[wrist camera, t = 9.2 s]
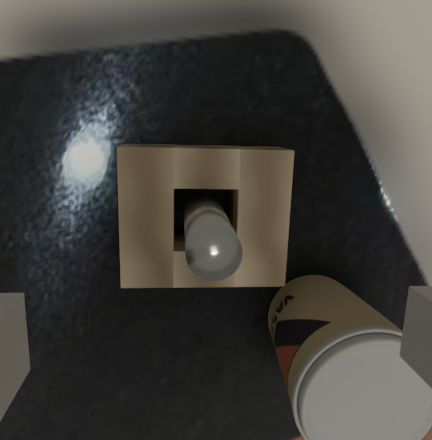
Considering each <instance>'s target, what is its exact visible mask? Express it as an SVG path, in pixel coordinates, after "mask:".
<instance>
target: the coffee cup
mask: <svg viewBox="0 0 432 440" xmlns="http://www.w3.org/2000/svg"><path fill="white" fill-rule="evenodd" d="M268 325H269V330H270V334H271V338H272V341H273V344H274V348H275V351H276V355H277V358H278V361H279V365H280V368H281V371H282V375H283V378H284V381H285V384H286V387H287V391H288V394H289V397H290V400H291V403H292V411H293V416H294V419H295V422H296V425H297V427H298V429H299V431H300V432H301V434H302V436H303V437H304V438H305V440H421V439H422V438H423V437H424V436H425V435H426V433H427V432H428V431H429V429H430V428H431V426H432V388H431V387H430V386H429V385H428V384H427V383H426V382H425V381H424V380H423V379H422V378H421V377H420V376H419V375H418V374H417V373H416V372H415V371H414V370H413V369H412V368H411V367H410V366H409V365H408V364H407V363H406V362H405V361H404V360H403V359H402V358H401V357H400V356H399V355H400V348H401V341H402V334H403V331H401V330H400V329H399V328H398V327H396V326H395V325H394V324H393V323H391V322H390V321H389V320H388V319H386V318H385V317H384V316H382V315H381V314H380V313H379V312H377V311H376V310H375V309H373V308H372V307H371V306H370V305H368V304H367V303H366V302H364V301H363V300H362V299H360V298H359V297H358V296H356V295H355V294H354V293H353V292H351V291H350V290H349V289H347V288H346V287H345V286H343V285H342V284H340V283H339V282H337V281H336V280H334V279H332V278H329V277H327V276H322V275H305V276H301V277H298V278H296V279H293V280H291V281H290V282H288V283H286V284H285V287H282V288H281V289H280V290H279V291H278V292H277V293H276V295H275V296H274V298H273V300H272V302H271V305H270V308H269V312H268Z"/></svg>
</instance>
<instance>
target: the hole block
mask: <svg viewBox="0 0 432 440" xmlns="http://www.w3.org/2000/svg"><path fill="white" fill-rule="evenodd" d="M293 163H294V150H290V149H286V148H281V147H261V146H218V145H174V144H131V143H125V144H122V145H120V146H117V175H118V210H119V245H120V280H121V288H184V287H285V277H286V262H287V248H288V234H289V220H290V205H291V191H292V177H293ZM174 189H230V215H229V221H230V223H231V225H232V227H233V229H234V231H235V233H236V235H237V237H238V238H239V240H240V242H241V245H242V250H243V256H242V261H241V263H240V265H239V267H238V269H237V270H236V271H235V272H234V273H233V274H232V275H231V276H229V277H227V278H225V279H223V280H219V281H208V280H204V279H202V278H199V277H198V276H196V275H195V274H194V273H193V272H192V271H191V270H190V268H189V266H188V264H187V261H186V254H185V235H174Z"/></svg>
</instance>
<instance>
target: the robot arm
mask: <svg viewBox="0 0 432 440" xmlns="http://www.w3.org/2000/svg"><path fill="white" fill-rule="evenodd" d="M399 356H400V357H401V358H402V359H403V360H404V361H405V362H406V363H407V364H408V365H409V366H410V367H411V368H412V369H413V370H414V371H415V372H416V373H417V374H418V375H419V376H420V377H421V378H422V379H423V380H424V381H425V382H426V383H427V384H428V385H429V386H430V387H431V388H432V287H430V286H409V291H408V298H407V305H406V312H405V319H404V327H403V334H402V341H401V348H400V355H399ZM29 371H30V359H29V347H28V336H27V324H26V312H25V300H24V293H0V421H1V419H2V418H3V416H4V414H5V412H6V411H7V409H8V407H9V405H10V404H11V402H12V400H13V399H14V397H15V395H16V393H17V392H18V390H19V388H20V386H21V385H22V383H23V381H24V380H25V378H26V376H27V374H28V373H29Z"/></svg>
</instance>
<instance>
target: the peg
mask: <svg viewBox="0 0 432 440" xmlns="http://www.w3.org/2000/svg"><path fill="white" fill-rule="evenodd" d="M183 209H184V231H185V254H186V261H187V264H188V266H189V268H190V270H191V271H192V272H193V273H194V274H195V275H196V276H198V277H199V278H202V279H204V280H208V281H219V280H223V279H225V278H227V277H229V276H231V275H232V274H233V273H234V272H235V271H236V270H237V269H238V267H239V265H240V263H241V261H242V256H243V250H242V245H241V242H240V240H239V238H238V237H237V235H236V233H235V231H234V229H233V227H232V225H231V223H230V221H229V219H228V218H227V216H226V214H225V212H224V210H223V208H222V206H221V204H220V202H219V200H218V199H217V197H216V196H215V195H214V194H212V193H210V192H208V191H196V192H194V193H192V194H191V195H189V196H188V198H187V199H186V201H185V203H184V208H183Z"/></svg>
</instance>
